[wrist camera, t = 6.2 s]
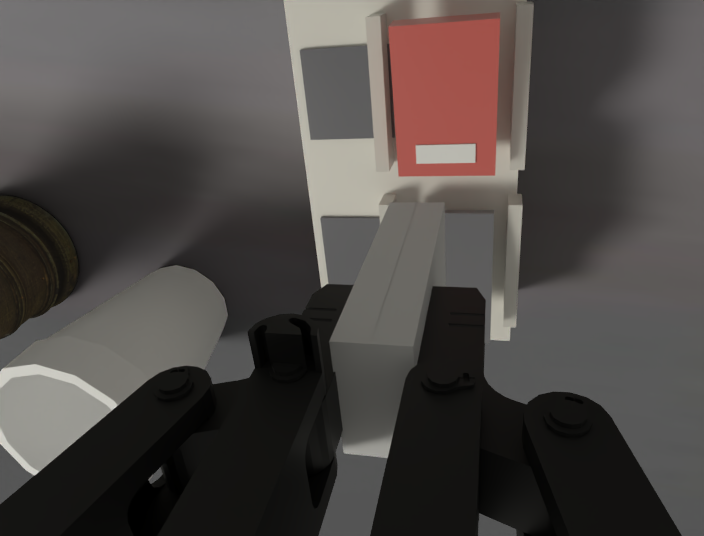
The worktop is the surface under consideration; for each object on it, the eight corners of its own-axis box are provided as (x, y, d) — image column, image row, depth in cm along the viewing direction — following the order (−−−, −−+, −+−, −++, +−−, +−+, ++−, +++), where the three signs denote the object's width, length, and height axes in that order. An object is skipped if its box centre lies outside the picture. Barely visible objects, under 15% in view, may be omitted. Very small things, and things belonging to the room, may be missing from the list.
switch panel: (287, -279, 24) (223, -348, 18) (543, -333, 21) (558, -433, 16) (347, 286, 36) (320, 344, 31) (511, 292, 34) (514, 357, 28)
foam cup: (137, 222, 38) (-14, 334, 27) (263, 280, 38) (164, 416, 27) (118, 325, 43) (-16, 455, 32) (229, 377, 43) (134, 525, 32)
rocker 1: (393, 20, 22) (387, 26, 21) (500, 12, 21) (500, 18, 20) (402, 165, 25) (398, 177, 24) (495, 163, 24) (495, 176, 23)
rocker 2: (406, 209, 27) (402, 213, 25) (494, 209, 26) (494, 213, 24) (407, 330, 28) (403, 339, 27) (490, 335, 27) (490, 344, 26)
